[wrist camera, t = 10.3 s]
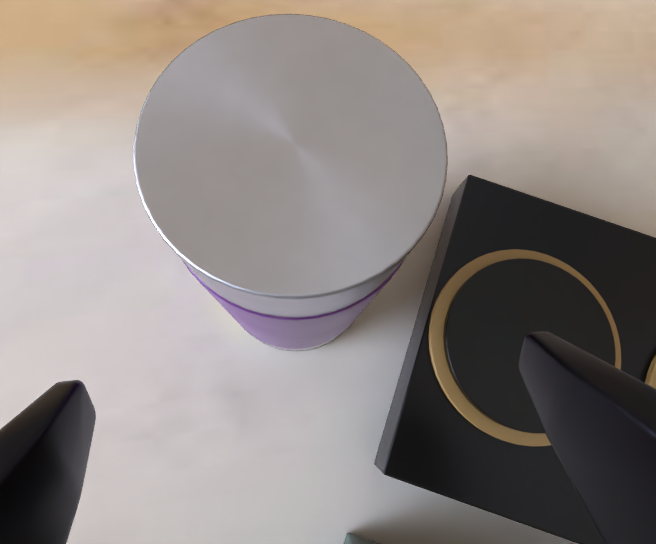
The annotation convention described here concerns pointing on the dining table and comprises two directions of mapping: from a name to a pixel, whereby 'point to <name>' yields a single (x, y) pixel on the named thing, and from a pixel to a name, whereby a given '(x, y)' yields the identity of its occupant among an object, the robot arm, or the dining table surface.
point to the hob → (513, 350)
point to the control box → (357, 540)
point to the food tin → (291, 170)
